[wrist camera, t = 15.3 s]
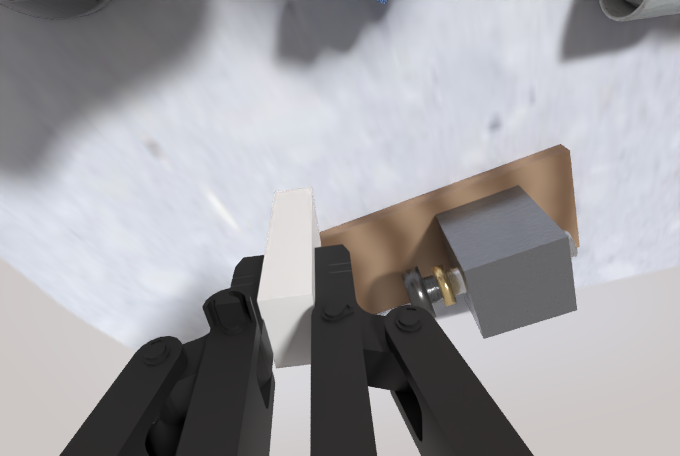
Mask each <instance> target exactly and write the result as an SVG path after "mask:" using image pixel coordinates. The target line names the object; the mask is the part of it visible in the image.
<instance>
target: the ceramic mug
mask: <svg viewBox="0 0 680 456" xmlns="http://www.w3.org/2000/svg"><path fill="white" fill-rule="evenodd" d="M599 3H600V7H601V9H602V11H603V12H604V14H605V15H606V16H607V17H608V18H610V19H612V20H614V21H630V20H636V19H645V18H652V17H659V16H665V15H674V14H680V0H599Z"/></svg>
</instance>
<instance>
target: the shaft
mask: <svg viewBox="0 0 680 456" xmlns="http://www.w3.org/2000/svg"><path fill="white" fill-rule="evenodd" d="M564 232H565V233H566V234H567V235H568V236H569V245H570V253H571V258H573V257H576V256H577V247H576V244H575V242H574V240H573V238H572V236H571V235H570V234H569V232H567V231H566V230H564ZM431 268H432V271H433V275H430V276H427V277H424V278H422V276H421V274H420V271H419V268H418V266H415V267H412V268H409V269H406V270H403V271H401V275H402V279H403V282H404V285H405V288H406V291H407V294H408V297H409V300H410V302H411V305H413V306H419V307H421V308H423V309H426V310H427V311H428V312H429V313H430V314H431V315H432V316H433V317H436V315H435V312H434V309H433V307H432V303H435V302H438V301H441V300H443V301H444V303H445V306H446V307H447V306H450V305H453V304H456V303H457V302H456V299H455V296H457V295H460V294H463V293H466V292H467V291H466V288H465V285H464V281H463V278H462V276H461V274H460V272H459V270H458V268H457V267H454V268H451V269H448V270H445V269H444V267H443V265H442V264H440V265H437V266H434V267H431Z"/></svg>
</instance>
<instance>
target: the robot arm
mask: <svg viewBox="0 0 680 456" xmlns="http://www.w3.org/2000/svg"><path fill="white" fill-rule="evenodd" d="M111 1H112V0H0V4H1V5H4V6H6V7H9V8H11V9H13V10H16V11H18V12H21V13H24V14H27V15H30V16H35V17H39V18H46V19H69V18H75V17H80V16H84V15H88V14H91V13H94V12H96V11H98V10H100V9H102V8H103V7H105V6H106V5H108V4H109V3H110V2H111ZM203 310H204V313H205V315H206V318H207V320H208V323H209V326H210V328H211V329H210V333H208V334H207V335H205V336H203V337H201V338H199V339H196V340H193V341H191V342H188V343H185V344H182V343H181V342H180V341H179V340H178V339H177V338H175V337H171V336H165V337H159V338H156V339H154V340H151V341H149V342H148V343H146V344H145V345H143V346H142V347H141V348H140V349H139V350H138V351H137V352H136V353H135V354H134V356H133V357H132V358H131V360H130V361H129V362H128V364H127V365H126V366H125V368H124V369H123V370H122V372H121V373H120V375H119V376H118V377H117V379H116V380H115V381H114V383H113V384H112V385H111V387H110V388H109V389H108V391H107V392H106V393H105V395H104V396H103V397H102V399H101V400H100V402H99V403H98V404H97V406H96V407H95V408H94V410H93V411H92V413H91V414H90V415H89V417H88V418H87V419H86V420H85V422H84V423H83V425H82V426H81V428H80V429H79V430H78V431H77V433H76V434H75V435H74V437H73V438H72V439H71V441H70V442H69V443H68V445H67V446H66V448H65V449H64V450H63V452H62V453H61V454H60V456H269V451H270V439H271V427H272V415H273V403H274V390H275V380H274V375H273V372H272V365H273V359H274V362H275V366H276V368H283V367H291V366H299V365H307V364H311V455H310V456H377V452H376V444H375V436H374V429H373V422H372V414H371V406H370V399H369V391H368V386H370V387H375V388H381V389H387V390H390V392H391V394H392V397H393V399H394V401H395V403H396V405H397V407H398V409H399V411H400V413H401V415H402V417H403V419H404V421H405V423H406V425H407V428H408V430H409V432H410V434H411V436H412V437H413V440H414V442H415V444H416V446H417V448H418V450H419V452H420V454H421V456H534V455H533V454H532V453H531V451H530V450H529V448H528V447H527V446H526V444H525V443H524V442H523V440H522V439H521V438H520V436H519V435H518V433H517V432H516V431H515V429H514V428H513V426H512V425H511V424H510V422H509V421H508V420H507V418H506V417H505V415H504V414H503V413H502V412H501V410H500V409H499V407H498V406H497V404H496V403H495V402H494V400H493V399H492V397H491V396H490V395H489V394H488V392H487V391H486V389H485V388H484V387H483V385H482V384H481V382H480V381H479V379H478V378H477V377H476V375H475V374H474V373H473V371H472V370H471V368H470V367H469V366H468V364H467V363H466V362H465V360H464V359H463V358H462V356H461V355H460V353H459V352H458V351H457V349H456V348H455V346H454V345H453V344H452V342H451V341H450V339H449V338H448V337H447V335H446V334H445V333H444V331H443V330H442V329H441V327H440V326H439V324H438V323H437V322H436V320H435V319H434V317H433V316H432V315H431V314H430V313H429V312H428V311H427V310H426V309H423V308H421V307H419V306H413V305H404V306H399V307H397V308H394V309H392V310H391V311H390V312H389V313H388V314H387V315H386V316H381V315H375V314H371V313H369V312H366V311H365V310H363V309H362V308H361V307H360V306H359V305H358V303H357V300H356V295H355V288H354V281H353V273H352V266H351V259H350V252H349V251H348V250H347V248H346V247H345V246H344V245H343V244H339V245H332V246H324V247H321V241H320V235H319V229H318V223H317V217H316V210H315V204H314V198H313V192H312V187H309V188H302V189H294V190H286V191H278V192H275V194H274V200H273V206H272V212H271V218H270V225H269V231H268V237H267V243H266V249H265V255H260V256H252V257H244V258H243V259H242V260H241V261H240V262H239V263H238V265H237V266H236V267H235V270H234V274H233V279H232V282H231V287H230V288H229V289H225V290H221V291H219V292H217V293H215V294H213V295H212V296H211V297H210V298H208V299H207V300H206V301H205V303H204V305H203Z"/></svg>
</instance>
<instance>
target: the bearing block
mask: <svg viewBox="0 0 680 456" xmlns="http://www.w3.org/2000/svg"><path fill="white" fill-rule="evenodd" d="M435 216H436V219H437V222H438V226H439V229H440V232H441V235H442V238H443V242H444V245H445V248H446V251H447V254H448V257H449V261H450V264H451V267H452V268H454V267H457V268H458V270H459V272H460V274H461V276H462V278H463V281H464V285H465V288H466V291H467V292H466V293H463V296H464V298H465V300H466V302H467V304H468V306H469V308H470V311H471V313H472V315H473V317H474V319H475V321H476V323H477V325H478V328H479V329H480V332H481V334H482V336H483V338H488V337H491V336H495V335H498V334H501V333H504V332H507V331H511V330H514V329H517V328H520V327H524V326H527V325H530V324H533V323H537V322H540V321H543V320H546V319H550V318H553V317H556V316H559V315H563V314H566V313H569V312H572V311H576V310H577V306H576V297H575V288H574V279H573V271H572V262H571V253H570V245H569V236H568V235H567V234H566V233H565V232H564V231H563V230H562V229H561V228H560V227H559V226H558V225H557V224H556V223H555V222H554V221H553V220H552V219H551V218H550V217H549V216H548V215H547V214H546V213H545V212H544V210H543V209H542V208H541V207H540V206H539V205H538V204H537V203H536V202H535V201H534V200H533V199H532V198H531V197H530V196H529V195H528V194H527V193H526V192H525V191H524V190H523V189H522V188H521V187H520V186H519V185H517V186H514V187H511V188H508V189H506V190H503V191H500V192H497V193H495V194H492V195H489V196H486V197H483V198H481V199H478V200H475V201H472V202H469V203H467V204H464V205H461V206H458V207H455V208H453V209H450V210H447V211H444V212H441V213H439V214H436V215H435Z"/></svg>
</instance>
